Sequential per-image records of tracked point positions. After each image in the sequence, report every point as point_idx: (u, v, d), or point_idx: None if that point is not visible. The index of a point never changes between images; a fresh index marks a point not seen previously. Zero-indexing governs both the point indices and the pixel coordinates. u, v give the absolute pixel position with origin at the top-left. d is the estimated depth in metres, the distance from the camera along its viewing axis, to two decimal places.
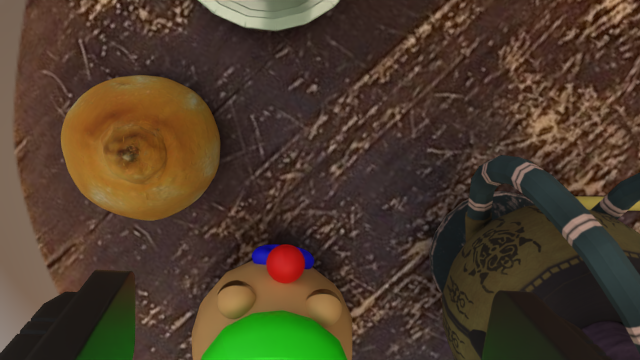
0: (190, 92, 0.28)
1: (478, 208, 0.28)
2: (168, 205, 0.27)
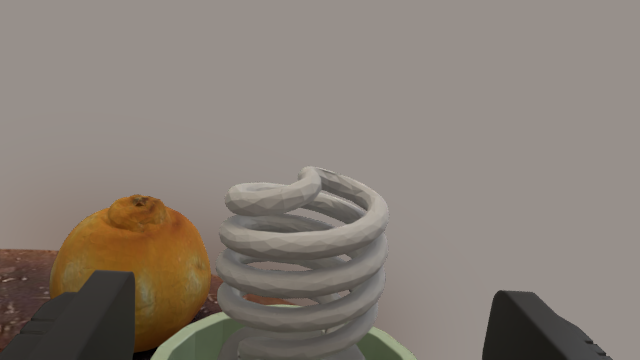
0: (154, 305, 0.25)
1: None
2: None
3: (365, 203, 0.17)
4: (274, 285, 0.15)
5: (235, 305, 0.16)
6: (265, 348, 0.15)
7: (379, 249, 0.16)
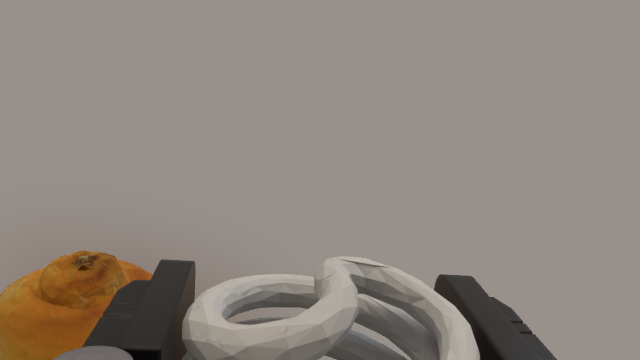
0: None
1: None
2: None
3: (432, 324, 0.10)
4: None
5: None
6: None
7: None
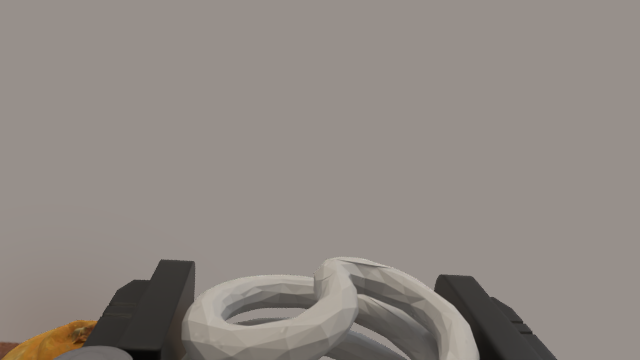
0: None
1: None
2: None
3: (431, 324, 0.10)
4: None
5: None
6: None
7: None
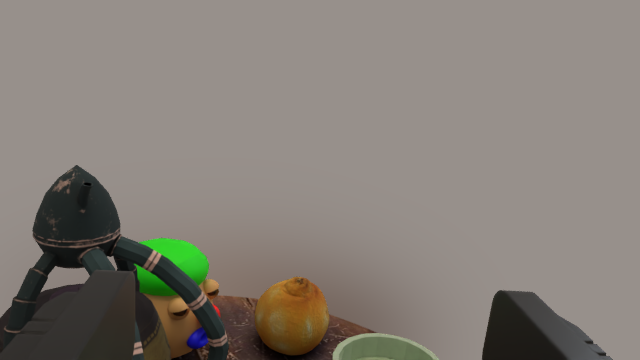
0: (312, 332, 0.53)
1: None
2: (266, 295, 0.55)
3: None
4: None
5: None
6: None
7: None
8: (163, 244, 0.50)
